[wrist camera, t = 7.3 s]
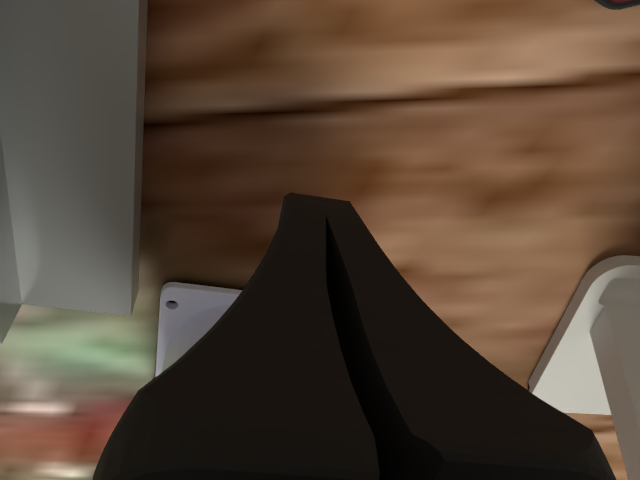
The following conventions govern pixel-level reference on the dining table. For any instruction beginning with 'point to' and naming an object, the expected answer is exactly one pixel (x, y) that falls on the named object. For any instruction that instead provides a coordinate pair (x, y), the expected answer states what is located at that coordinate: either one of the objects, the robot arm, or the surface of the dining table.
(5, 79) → the keypad
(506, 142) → the dining table surface
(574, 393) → the phone holder
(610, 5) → the smartphone
